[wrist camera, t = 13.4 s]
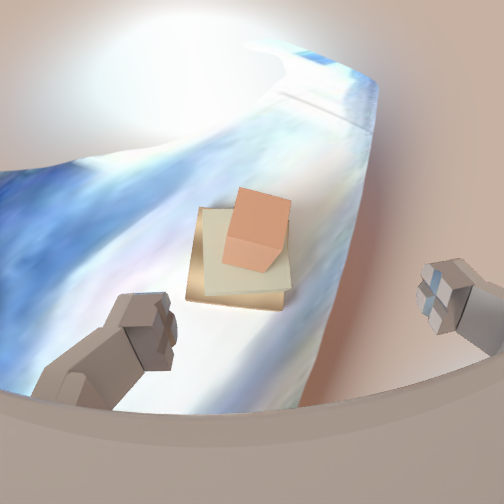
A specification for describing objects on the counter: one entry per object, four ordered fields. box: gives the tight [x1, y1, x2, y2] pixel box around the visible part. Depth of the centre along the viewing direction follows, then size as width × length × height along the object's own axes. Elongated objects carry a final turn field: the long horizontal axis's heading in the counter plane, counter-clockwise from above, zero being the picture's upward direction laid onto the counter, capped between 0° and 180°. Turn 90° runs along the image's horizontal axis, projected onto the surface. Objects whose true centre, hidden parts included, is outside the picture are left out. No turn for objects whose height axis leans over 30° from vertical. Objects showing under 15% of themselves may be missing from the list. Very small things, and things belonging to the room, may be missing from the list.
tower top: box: [202, 209, 292, 296], centre depth 34 cm, size 9×9×3 cm
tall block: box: [222, 187, 291, 273], centre depth 28 cm, size 4×4×8 cm
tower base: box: [185, 207, 289, 312], centre depth 36 cm, size 11×11×3 cm
